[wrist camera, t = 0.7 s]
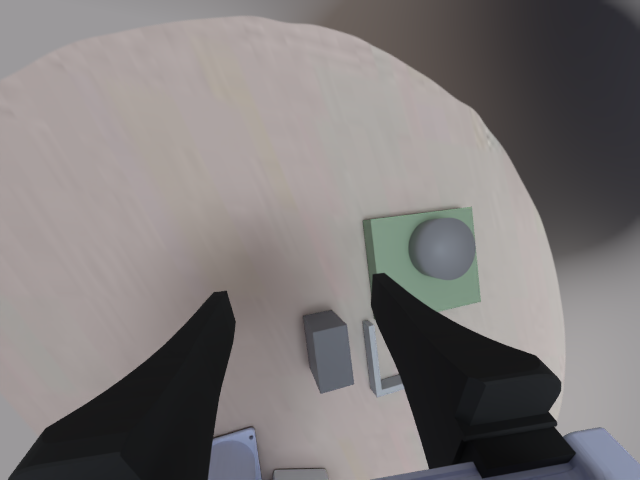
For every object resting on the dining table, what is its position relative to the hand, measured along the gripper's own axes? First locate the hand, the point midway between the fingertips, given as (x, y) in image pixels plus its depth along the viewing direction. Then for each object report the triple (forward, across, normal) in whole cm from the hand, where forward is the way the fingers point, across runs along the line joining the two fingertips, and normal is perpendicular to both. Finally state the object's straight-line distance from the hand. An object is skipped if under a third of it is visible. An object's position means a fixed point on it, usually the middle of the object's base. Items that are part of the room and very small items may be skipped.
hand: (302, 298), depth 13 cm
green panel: (+18, -16, +17) cm, 30 cm away
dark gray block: (+14, -2, +19) cm, 24 cm away
